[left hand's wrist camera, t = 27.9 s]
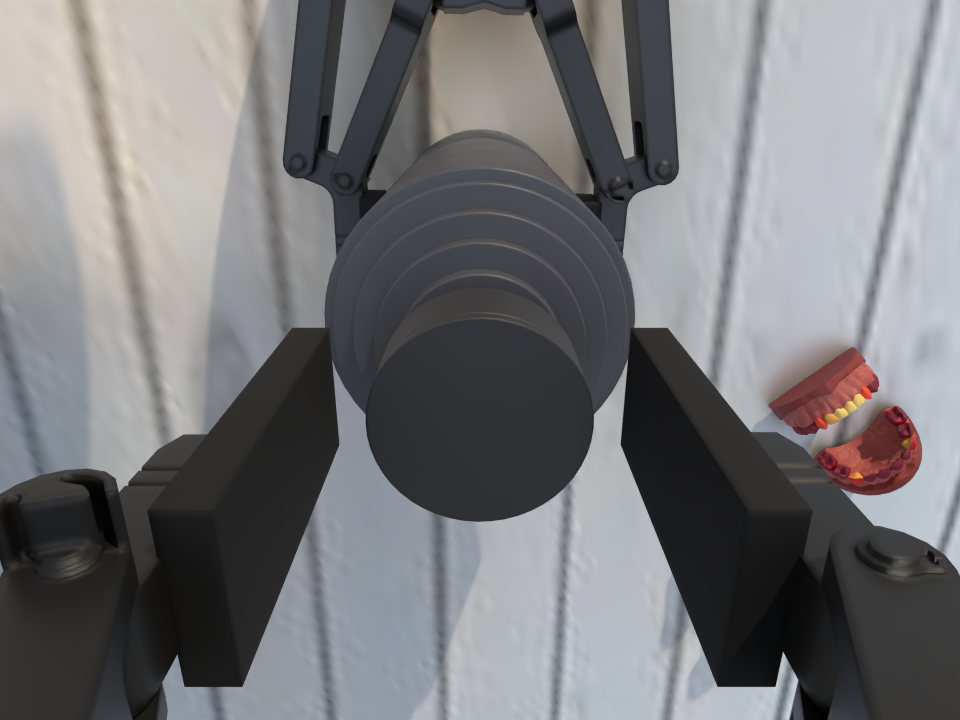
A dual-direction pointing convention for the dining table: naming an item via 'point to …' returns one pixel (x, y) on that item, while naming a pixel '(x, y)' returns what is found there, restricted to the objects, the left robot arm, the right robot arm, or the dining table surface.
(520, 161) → the bottle
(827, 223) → the dining table surface
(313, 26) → the right robot arm
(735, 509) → the left robot arm
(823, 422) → the dental model
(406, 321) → the cap
